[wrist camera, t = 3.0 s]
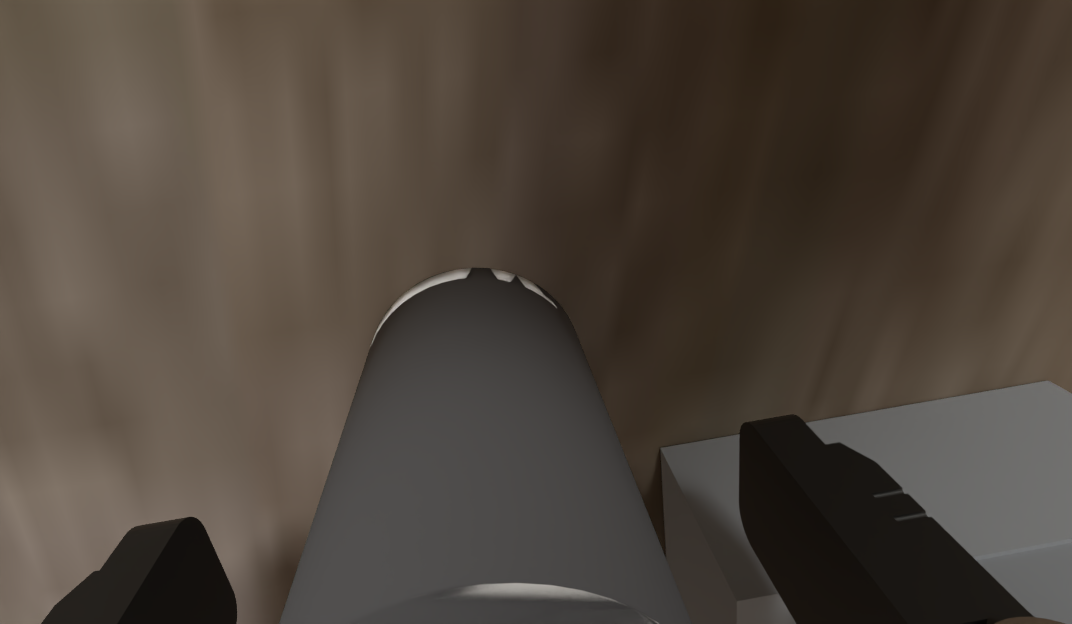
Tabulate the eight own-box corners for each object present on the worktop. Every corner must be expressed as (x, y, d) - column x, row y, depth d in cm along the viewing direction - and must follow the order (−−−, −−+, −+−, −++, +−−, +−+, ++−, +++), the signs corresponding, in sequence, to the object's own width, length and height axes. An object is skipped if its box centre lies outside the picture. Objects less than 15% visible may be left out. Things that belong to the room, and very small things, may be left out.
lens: (346, 286, 12) (165, 631, 5) (568, 251, 12) (717, 531, 5) (395, 468, 14) (319, 916, 7) (588, 435, 14) (718, 835, 7)
